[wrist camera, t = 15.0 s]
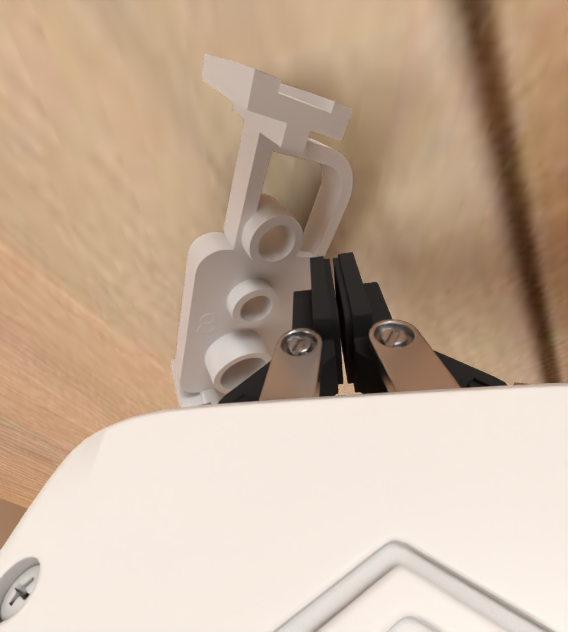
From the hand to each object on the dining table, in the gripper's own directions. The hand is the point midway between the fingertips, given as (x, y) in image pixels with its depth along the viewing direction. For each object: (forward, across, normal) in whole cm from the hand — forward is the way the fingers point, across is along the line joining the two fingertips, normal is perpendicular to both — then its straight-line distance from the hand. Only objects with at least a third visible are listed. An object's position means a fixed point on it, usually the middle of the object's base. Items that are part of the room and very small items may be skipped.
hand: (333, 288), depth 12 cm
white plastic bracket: (+3, +4, 0) cm, 5 cm away
